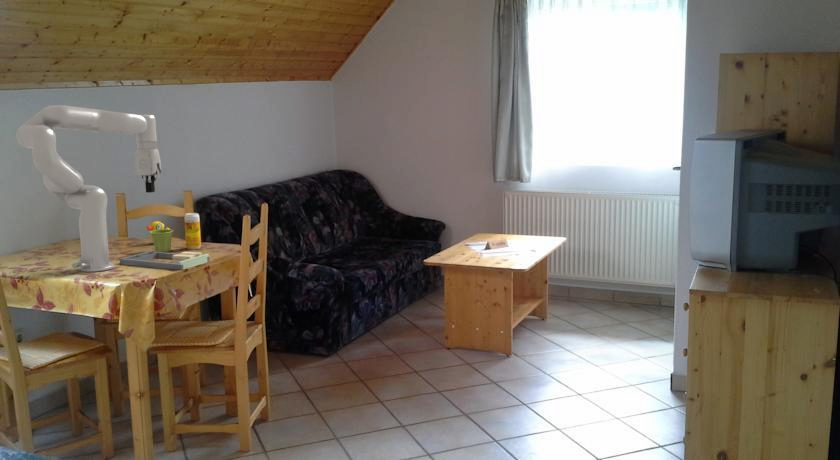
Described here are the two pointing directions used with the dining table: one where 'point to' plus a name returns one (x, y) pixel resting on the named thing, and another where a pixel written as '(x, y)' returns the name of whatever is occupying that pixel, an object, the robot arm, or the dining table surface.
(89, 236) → the robot arm
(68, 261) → the dining table surface
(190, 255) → the birch block
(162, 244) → the plant pot
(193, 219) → the beer can
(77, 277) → the dining table surface
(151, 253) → the grey shallow tray
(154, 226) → the duckling
